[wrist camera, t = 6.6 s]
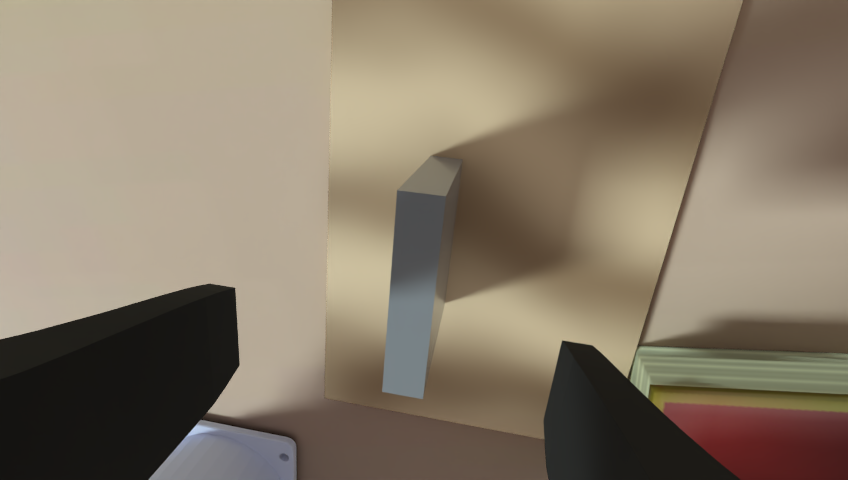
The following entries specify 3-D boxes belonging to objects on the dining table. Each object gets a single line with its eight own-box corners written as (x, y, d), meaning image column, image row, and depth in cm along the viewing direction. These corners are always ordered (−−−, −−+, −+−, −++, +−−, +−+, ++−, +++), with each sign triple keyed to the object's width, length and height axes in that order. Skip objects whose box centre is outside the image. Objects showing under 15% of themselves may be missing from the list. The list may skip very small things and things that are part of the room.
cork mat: (602, 444, 20) (605, 450, 19) (327, 392, 21) (324, 398, 21) (738, -5, 13) (745, -8, 13) (336, -34, 15) (332, -37, 15)
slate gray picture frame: (445, 303, 18) (422, 399, 12) (415, 298, 18) (379, 391, 13) (462, 159, 16) (446, 196, 10) (428, 155, 16) (393, 189, 10)
